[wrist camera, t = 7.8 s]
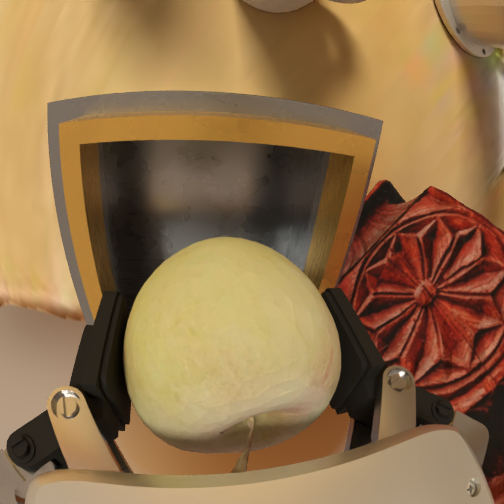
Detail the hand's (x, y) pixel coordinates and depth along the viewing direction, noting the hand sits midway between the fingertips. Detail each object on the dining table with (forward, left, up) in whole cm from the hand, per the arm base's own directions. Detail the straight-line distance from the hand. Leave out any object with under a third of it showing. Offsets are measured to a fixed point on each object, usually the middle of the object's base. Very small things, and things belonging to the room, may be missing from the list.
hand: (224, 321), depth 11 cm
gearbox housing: (0, 0, -16) cm, 16 cm away
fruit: (0, 0, -2) cm, 2 cm away
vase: (-19, +5, -16) cm, 26 cm away
